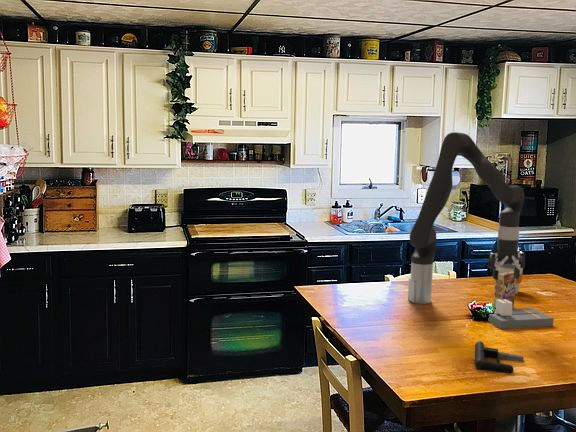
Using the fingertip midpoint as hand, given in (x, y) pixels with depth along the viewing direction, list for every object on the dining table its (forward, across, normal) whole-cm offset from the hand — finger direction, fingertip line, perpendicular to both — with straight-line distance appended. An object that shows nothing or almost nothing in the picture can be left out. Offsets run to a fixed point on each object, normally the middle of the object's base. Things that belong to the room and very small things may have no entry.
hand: (505, 279), depth 233 cm
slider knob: (+14, 0, 0) cm, 14 cm away
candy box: (+18, -11, -18) cm, 27 cm away
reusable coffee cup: (+18, -28, -43) cm, 54 cm away
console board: (+17, -6, 0) cm, 18 cm away
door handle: (+18, +24, +37) cm, 47 cm away
